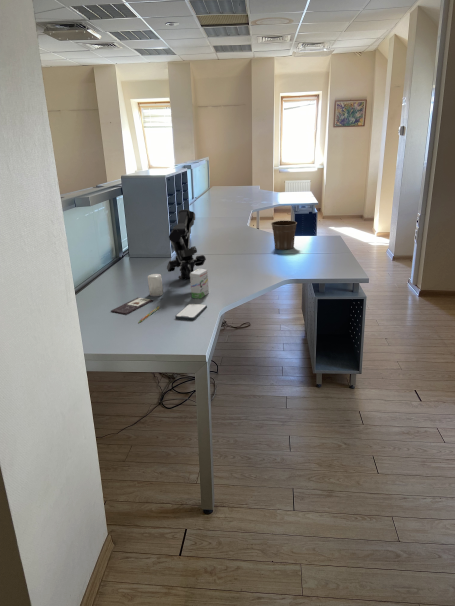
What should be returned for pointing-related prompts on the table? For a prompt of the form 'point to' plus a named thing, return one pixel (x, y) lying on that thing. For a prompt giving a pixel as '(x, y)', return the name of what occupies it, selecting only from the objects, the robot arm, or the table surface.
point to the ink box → (199, 283)
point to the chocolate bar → (131, 306)
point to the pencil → (149, 314)
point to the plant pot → (284, 234)
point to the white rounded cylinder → (155, 284)
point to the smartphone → (191, 312)
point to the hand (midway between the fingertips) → (192, 278)
